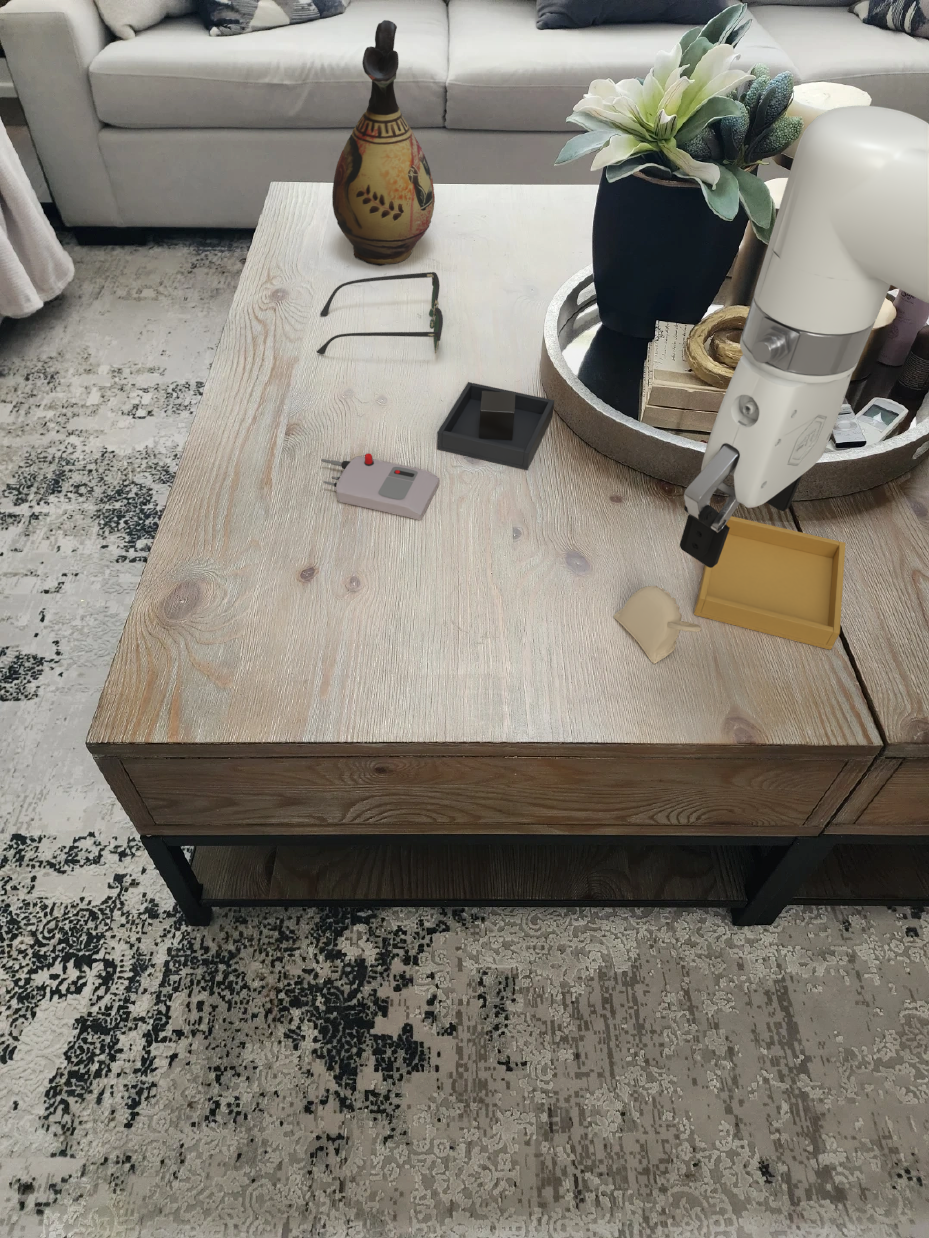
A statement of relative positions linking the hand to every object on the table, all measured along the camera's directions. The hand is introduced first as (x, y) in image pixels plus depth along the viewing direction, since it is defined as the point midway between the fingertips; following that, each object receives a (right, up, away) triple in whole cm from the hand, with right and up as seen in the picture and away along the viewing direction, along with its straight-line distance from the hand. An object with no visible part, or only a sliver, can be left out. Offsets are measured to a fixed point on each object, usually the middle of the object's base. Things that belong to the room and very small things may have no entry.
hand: (734, 528), depth 67 cm
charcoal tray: (-18, +15, +36) cm, 43 cm away
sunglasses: (-33, +32, +50) cm, 68 cm away
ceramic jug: (-34, +52, +67) cm, 91 cm away
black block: (-18, +16, +35) cm, 43 cm away
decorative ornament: (-3, -9, +15) cm, 18 cm away
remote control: (-31, +7, +28) cm, 43 cm away
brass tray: (+10, -4, +20) cm, 22 cm away
